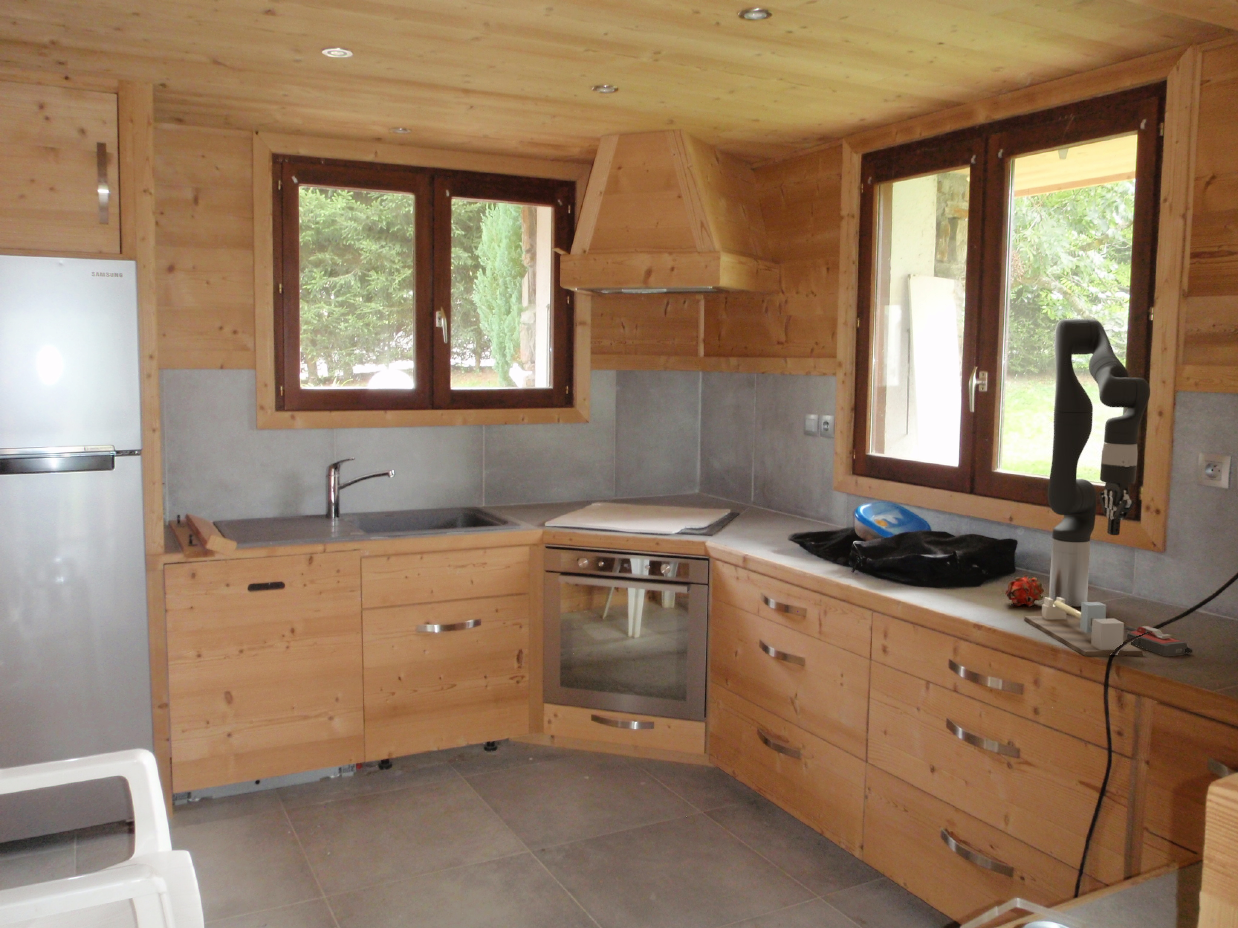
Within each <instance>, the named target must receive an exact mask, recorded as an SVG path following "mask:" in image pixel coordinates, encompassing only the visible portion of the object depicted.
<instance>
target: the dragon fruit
mask: <svg viewBox="0 0 1238 928" xmlns="http://www.w3.org/2000/svg"><path fill="white" fill-rule="evenodd" d="M1043 593H1044V588H1043V585H1042V582H1041V581H1040V580H1039V581H1038V578H1037V577H1032V578H1030V577H1028V575H1026V574H1024V575H1023V577H1019V576H1018V577H1017V576H1016V578H1015V579H1014V580H1011V581H1010V582H1008V585H1007V589H1006V591H1005V593H1004V594H1005V595H1006V596H1007V598H1008V600H1009V601H1011V603H1010V605H1011V606H1016V607H1020V606H1022V605H1026V606H1027V607H1029V608H1030V607H1031V606H1033V605H1035V602H1036V601H1041V600H1044V599H1043V598H1044V596H1043V595H1041V594H1043Z"/></svg>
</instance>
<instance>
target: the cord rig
mask: <svg viewBox="0 0 1238 928" xmlns="http://www.w3.org/2000/svg"><path fill="white" fill-rule="evenodd" d="M1067 614H1068V615H1070V616H1075V617H1076V618H1078V619H1080V620H1081V610H1077V609H1076V608H1074V607H1073V606H1068V605H1066V604H1065V599H1063V598H1061V597H1056V601H1055V602H1054V603H1053V599H1051V598H1049V596H1048V597H1047V596H1046V597H1044V599H1043V604H1041V616H1042V617H1043V618H1044V619H1046V620H1048V619H1066V616H1067ZM1091 625H1092V638H1091V645H1092V646H1094V647H1096V648H1098V649H1099V650H1115V649H1116V648H1117V647H1119V646H1120V645H1122V644H1123V641H1124V629H1125V623H1124V622H1122V621H1120V620H1118V619H1116V618H1106V619H1095V618H1091ZM1121 650H1123V648H1122V649H1121Z"/></svg>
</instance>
